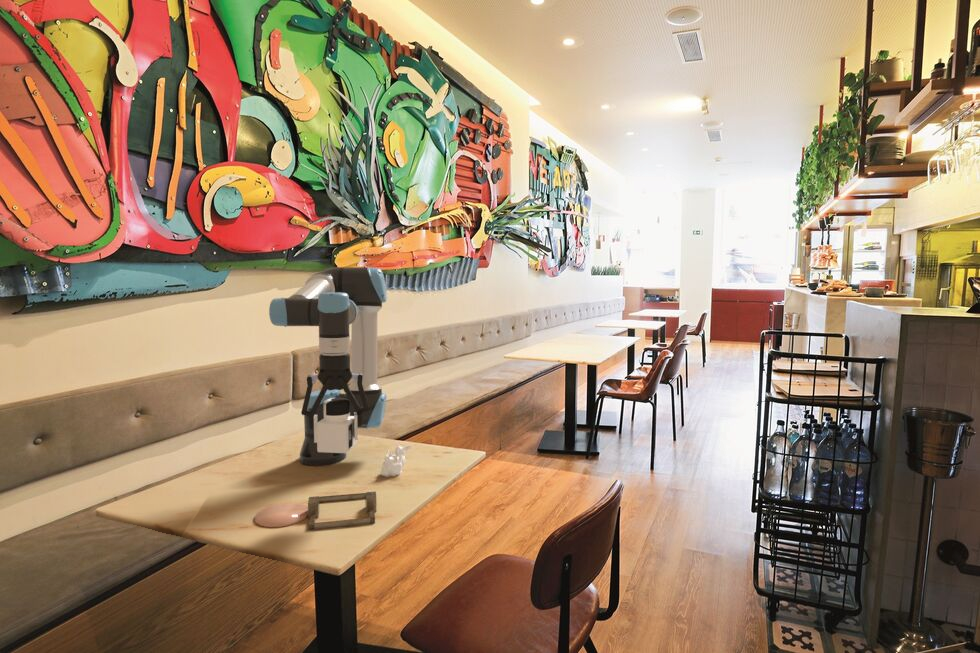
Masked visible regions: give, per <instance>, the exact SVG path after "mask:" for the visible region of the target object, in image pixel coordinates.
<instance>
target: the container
mask: <svg viewBox="0 0 980 653" xmlns="http://www.w3.org/2000/svg"><path fill="white" fill-rule="evenodd" d="M323 412H324V419H322V420H321V421H319V422H318V423H317V451H318V452H327V453H346V454H348V452H349V451H350V450H351V449H353V448H354V447H355V446H356V444H357V440H355V438H354V416H350V401H349V400H348V399H345V398H330V399H327V400H325V401H324V403H323Z"/></svg>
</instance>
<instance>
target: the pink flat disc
mask: <svg viewBox="0 0 980 653" xmlns="http://www.w3.org/2000/svg"><path fill="white" fill-rule="evenodd" d="M307 518H308V505H305V504H302V503H295V502H294V503H293V502H292V503H291V502H289V503H287V502H286V503H279V504H275V505H271V506H268V507H265V508H263V509H260V510H259V511H258V512H257V513H256V514H255V515H254V522H255V523H256V524H257V525H258V526H261V527H265V528H281V527H282V528H283V527H288V526H292V525H295V524H298V523H301V522H302V521H305V520H306V519H307Z"/></svg>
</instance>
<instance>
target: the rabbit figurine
mask: <svg viewBox="0 0 980 653" xmlns="http://www.w3.org/2000/svg"><path fill="white" fill-rule="evenodd" d="M411 449H412V444H408V445H406V446H400V445H399V444H397V446H396V448H395V451H394V452H393V451H392V452H390V450H389V449H388V450H387V452H386V455H385V456H384V460H383V462H382V464H381V471H380V475H381V476H383V477H395V476H398V475H401V474H402V473H403V472H402V471H403V467H404V466H405V464H406V462H407V461H406V457H405V455H406V451H410V450H411ZM389 452H390V453H389Z"/></svg>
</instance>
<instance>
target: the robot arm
mask: <svg viewBox="0 0 980 653" xmlns="http://www.w3.org/2000/svg"><path fill="white" fill-rule="evenodd" d="M304 283H305V284H304V285H303V286H302V287H301V288H299V289H298V290H297V291H296V292H295V293H293V294H292V295H290V296H289V297H280V298H279V297H276V298H273V299H271V301H270V304H269V309H268V314H269V316H268V317H269V320H270V322H271V324H272V325H273V326H276V327H285V328H287V327H318V351H319V353H320V354H319V356H318V358H319V360H318V363H319V366H318V368H319V370H318V371H319V372H318V374H316V375H315V374H314V375H311V374H309V375H307V376H306V384H307V386H306V391H305V395H304V399H303V404H302V408H301V415H302V416H303V417H304V420H303V421H304V438H303V441H302V442H303V443H302V445H301V449H300V452H299V462H300V463H301V464H303V465H307V466H311V467H312V466H314V467H315V466H316V467H319V466H329V465H330V466H331V465H334V464H339V463H340V462H342V461H343V460H346V458H347V453H327V452H318V451H317V423H318V422H319V421H321V420H322V419H324V412H323V403H324V401H325V400H327V399H330V398H345V399H348V400H349V401H350V416H354V438H355V440H356V441H358V439H359V438H358V434H359V433H358V429H367V430H368V429H375V428H377V429H378V428H379V427H380V426H382V424H383V421H384V417H385V413H386V412H385V411H386V406H387V394H386V393H384V392H383V390H382V386H381V385H379V383H378V313H379V312H380V310H381V309H382V308H383V303H386V302H387V301H388V300H387V299H388V296H387V286H386V280H385V276H384V273H383V271H382V270H381V268H378V267H370V266H367V267H365V266H363V267H362V266H361V267H359V266H358V267H347V266H346V267H344V266H343V267H342V266H340V267H339V266H338V267H330V268H326V269H324V270H321V271H319V272H316V273H314V274H312V275H311V276H310V277H308V279H307V280H306V281H305V282H304ZM350 326H351V335H350ZM350 338H351V339H350ZM350 340H351V341H350ZM350 351H351V355H350V354H349V352H350ZM317 380H318V381H319V382H320V383H321V384H322V387H321V389H319V390H315V391H312V390H313V385H315V384H316V382H317ZM349 382H350V384H349ZM342 390H343V392H344V393H341V392H342Z"/></svg>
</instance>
